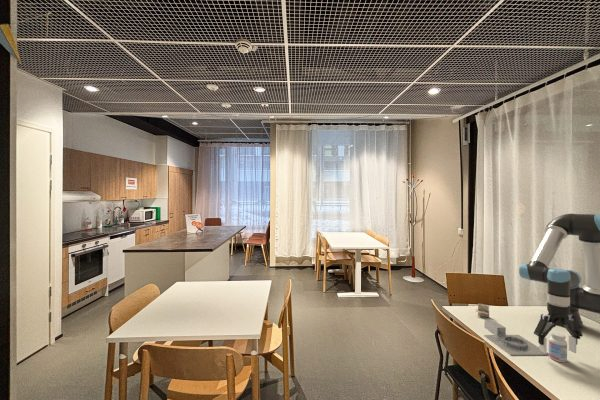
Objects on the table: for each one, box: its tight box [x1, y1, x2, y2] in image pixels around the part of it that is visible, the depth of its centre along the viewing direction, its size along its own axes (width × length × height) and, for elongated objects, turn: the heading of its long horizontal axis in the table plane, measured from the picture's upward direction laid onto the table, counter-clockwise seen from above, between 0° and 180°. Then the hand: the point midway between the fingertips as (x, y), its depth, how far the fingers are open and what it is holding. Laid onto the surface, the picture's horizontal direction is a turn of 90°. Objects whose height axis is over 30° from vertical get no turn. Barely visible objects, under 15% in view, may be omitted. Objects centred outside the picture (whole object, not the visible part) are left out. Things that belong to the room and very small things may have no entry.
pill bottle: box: [548, 331, 568, 363], centre depth 127 cm, size 6×6×11 cm
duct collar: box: [483, 318, 549, 356], centre depth 143 cm, size 18×28×4 cm, turn 1°
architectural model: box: [475, 303, 490, 318], centre depth 172 cm, size 3×7×7 cm, turn 57°
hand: (557, 351), depth 127 cm, fingers open, 13 cm apart
